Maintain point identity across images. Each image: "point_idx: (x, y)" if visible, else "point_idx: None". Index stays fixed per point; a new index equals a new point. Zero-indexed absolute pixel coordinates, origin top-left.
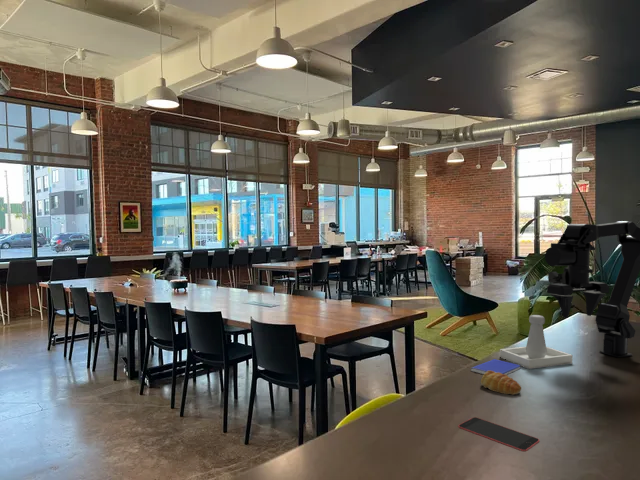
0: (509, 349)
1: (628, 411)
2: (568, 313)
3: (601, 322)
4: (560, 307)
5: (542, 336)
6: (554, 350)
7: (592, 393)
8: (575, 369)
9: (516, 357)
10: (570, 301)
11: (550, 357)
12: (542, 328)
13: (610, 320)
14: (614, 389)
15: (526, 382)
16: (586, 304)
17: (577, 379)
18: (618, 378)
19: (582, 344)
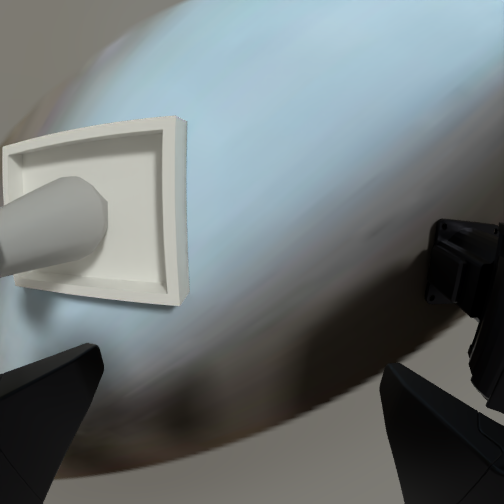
0: (24, 151)
1: (96, 470)
2: (83, 404)
3: (499, 299)
4: (13, 371)
5: (31, 269)
6: (163, 217)
7: (84, 429)
8: (149, 338)
9: None
10: (25, 501)
11: (79, 293)
12: (10, 269)
13: (494, 369)
14: (138, 443)
15: (3, 338)
16: (441, 424)
17: (100, 384)
18: (208, 424)
19: (475, 105)
